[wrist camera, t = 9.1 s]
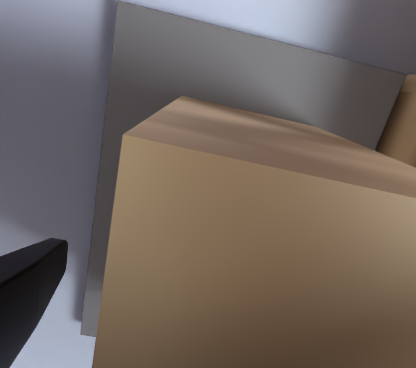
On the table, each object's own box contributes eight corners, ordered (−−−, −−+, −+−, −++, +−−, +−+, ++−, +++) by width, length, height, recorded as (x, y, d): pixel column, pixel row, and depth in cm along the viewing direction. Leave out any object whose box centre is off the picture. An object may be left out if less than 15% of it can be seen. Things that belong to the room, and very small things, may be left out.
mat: (395, 74, 11) (406, 74, 10) (280, 356, 15) (283, 367, 15) (122, 4, 10) (117, 0, 9) (85, 324, 14) (80, 334, 14)
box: (318, 127, 11) (591, 239, 3) (252, 320, 14) (312, 620, 6) (178, 95, 10) (109, 133, 3) (140, 301, 13) (55, 597, 6)
